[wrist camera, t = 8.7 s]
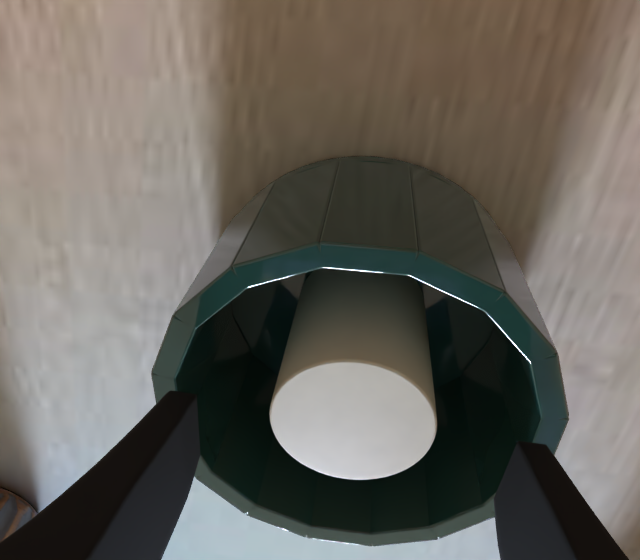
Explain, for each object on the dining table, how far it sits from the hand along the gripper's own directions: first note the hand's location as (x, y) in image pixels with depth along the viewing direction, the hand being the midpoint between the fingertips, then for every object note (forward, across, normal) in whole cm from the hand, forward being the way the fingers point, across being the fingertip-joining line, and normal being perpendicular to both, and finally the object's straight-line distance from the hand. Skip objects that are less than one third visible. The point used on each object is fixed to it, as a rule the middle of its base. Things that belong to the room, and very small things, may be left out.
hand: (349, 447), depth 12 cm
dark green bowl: (+6, 0, 0) cm, 6 cm away
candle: (+6, 0, 0) cm, 6 cm away
